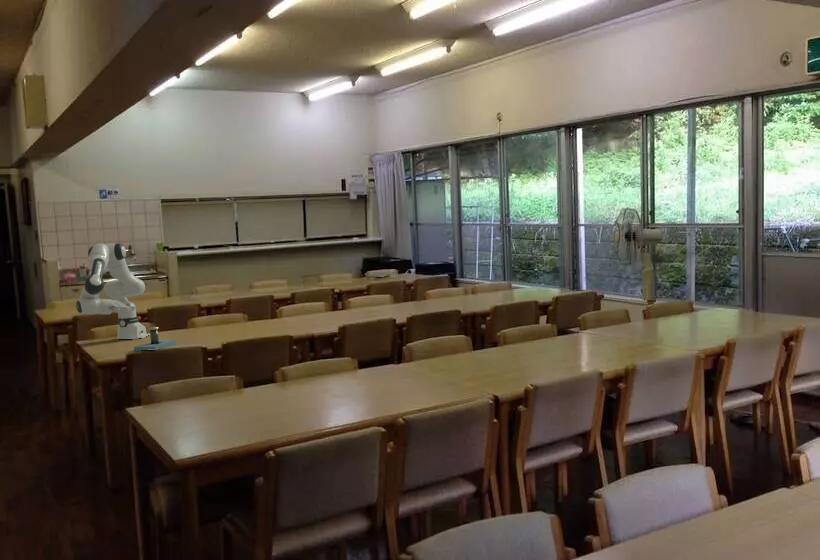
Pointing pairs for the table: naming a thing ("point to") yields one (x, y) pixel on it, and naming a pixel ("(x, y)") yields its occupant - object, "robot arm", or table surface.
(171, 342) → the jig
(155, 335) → the dark grey cylinder
